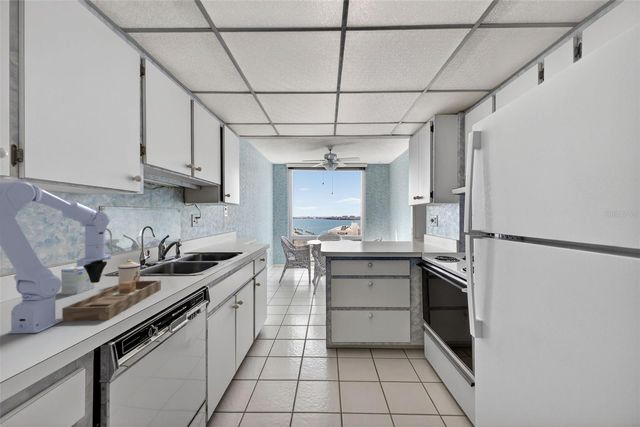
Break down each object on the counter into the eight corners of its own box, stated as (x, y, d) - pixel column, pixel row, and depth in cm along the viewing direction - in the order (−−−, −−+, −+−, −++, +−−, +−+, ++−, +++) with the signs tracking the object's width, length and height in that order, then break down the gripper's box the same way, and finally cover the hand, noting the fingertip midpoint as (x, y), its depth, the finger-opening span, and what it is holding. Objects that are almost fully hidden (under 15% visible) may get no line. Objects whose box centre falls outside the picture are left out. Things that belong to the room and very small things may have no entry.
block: (130, 293, 114) (130, 283, 114) (119, 293, 114) (119, 283, 114) (135, 290, 118) (135, 280, 118) (125, 290, 118) (125, 281, 118)
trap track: (108, 319, 93) (108, 307, 93) (62, 320, 92) (62, 308, 92) (160, 289, 129) (160, 280, 129) (127, 290, 128) (127, 281, 128)
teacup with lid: (137, 285, 135) (137, 260, 135) (115, 287, 132) (114, 262, 132) (144, 279, 146) (144, 257, 146) (123, 281, 143) (123, 257, 143)
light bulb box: (79, 287, 131) (79, 264, 131) (95, 287, 132) (95, 264, 132) (60, 294, 120) (60, 269, 120) (77, 294, 121) (77, 268, 121)
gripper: (92, 247, 97) (92, 287, 97) (119, 242, 112) (119, 277, 112) (70, 247, 97) (70, 287, 97) (100, 242, 111) (100, 277, 111)
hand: (95, 282), depth 104 cm, fingers closed
